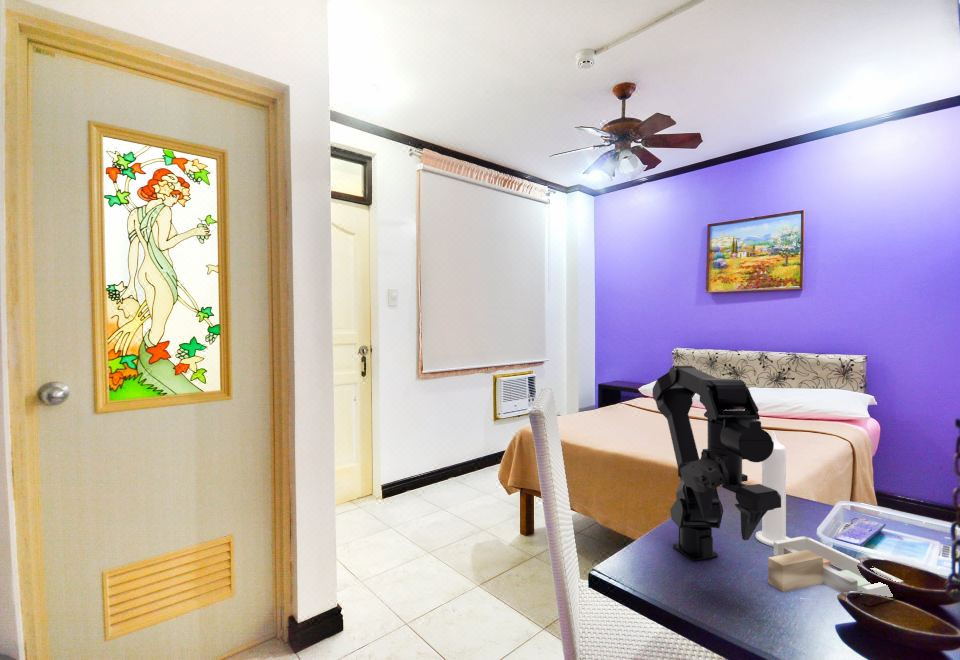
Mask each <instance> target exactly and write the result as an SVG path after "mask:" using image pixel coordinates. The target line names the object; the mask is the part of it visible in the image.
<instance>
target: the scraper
mask: <svg viewBox="0 0 960 660" xmlns="http://www.w3.org/2000/svg"><path fill="white" fill-rule="evenodd" d="M767 571H768V573H767V574H768V575H767V580H768V581H767V582H768V584H769V585H771V586H772V587H774V588H775V589H777V590H779V591H780V592H782V593H786V592H789V591H794V590H799V589H803V588H808V587H812V586H817V585H820V584H824V585H826V586H828V587H830V588H832V589H833V590H835V591H837V592H838V593H841V594H842V593H844V592H849V591H858V581H857V580H855V579H853V578H851V577H849V576H847V575H845V574H843V573H841V572H839V571H840V570H837V569H835V568H832V567H831V566H830V567H829V566H827V565H825V564H823V557H821V556H819V555H817V554H815V553H813V552H811V551H809V550H804V551H797V550H794V549H792V548H790V547H786V548H784V555H779V556H774V555H773V556H770V557H768V558H767Z"/></svg>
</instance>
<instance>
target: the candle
mask: <svg viewBox="0 0 960 660" xmlns="http://www.w3.org/2000/svg"><path fill="white" fill-rule="evenodd" d="M771 432H772V433H771V435H770V436H771V438H772V441H773V442H774V448H773V452H772V454H771V455H770V456H769V458H767V459H766V460H764V461H762V462H761V479H762V480H761V485H763V486H766V487H769V488H771V489H774V490H776V491H777V492H778V493H779V494H780V495H781V508H775V509H774V510H768V511H767V512H766V513H765V515H764V516H763V517H762V519H761V527H762V528H761V530H758V531H756V533H755V538H756V540H757V541H758V542H760V543H762V544H764V545H766V546H769V547H772V548H774V541H779V540H785V539H790V538H791V537H789V536H787V531H786V529H787V527H786V526H787V505H786V504H787V496H786V495H787V448H786V446H785V445H783V444H782V443H780V442H779V440H778V438H777V434H776V431H771Z"/></svg>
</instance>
